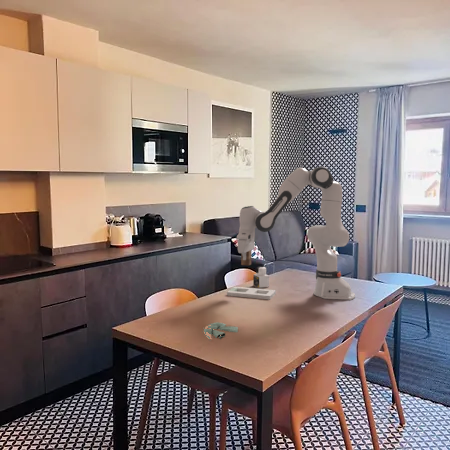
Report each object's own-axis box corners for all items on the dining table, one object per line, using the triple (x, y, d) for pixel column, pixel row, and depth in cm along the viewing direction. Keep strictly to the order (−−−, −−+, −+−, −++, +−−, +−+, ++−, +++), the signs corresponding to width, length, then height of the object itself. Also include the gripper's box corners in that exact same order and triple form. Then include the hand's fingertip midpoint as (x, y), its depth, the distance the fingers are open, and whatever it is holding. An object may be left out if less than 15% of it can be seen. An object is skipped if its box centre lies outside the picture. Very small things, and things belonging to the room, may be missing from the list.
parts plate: (275, 293, 240) (275, 290, 240) (270, 299, 228) (270, 296, 228) (234, 289, 249) (234, 286, 249) (226, 295, 237) (226, 292, 237)
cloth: (216, 321, 195) (216, 316, 195) (255, 332, 181) (255, 327, 181) (185, 334, 179) (185, 329, 179) (225, 347, 166) (225, 341, 165)
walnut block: (251, 264, 239) (251, 250, 239) (248, 265, 235) (249, 251, 234) (243, 263, 241) (243, 249, 240) (241, 264, 237) (241, 250, 236)
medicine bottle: (253, 285, 259) (253, 266, 258) (263, 284, 262) (263, 265, 261) (258, 288, 253) (258, 268, 251) (269, 286, 256) (269, 267, 254)
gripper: (247, 232, 247) (246, 256, 248) (235, 236, 228) (235, 261, 229) (257, 233, 245) (256, 256, 246) (246, 237, 226) (246, 262, 227)
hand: (246, 259), depth 238 cm, fingers closed on walnut block, 4 cm apart
